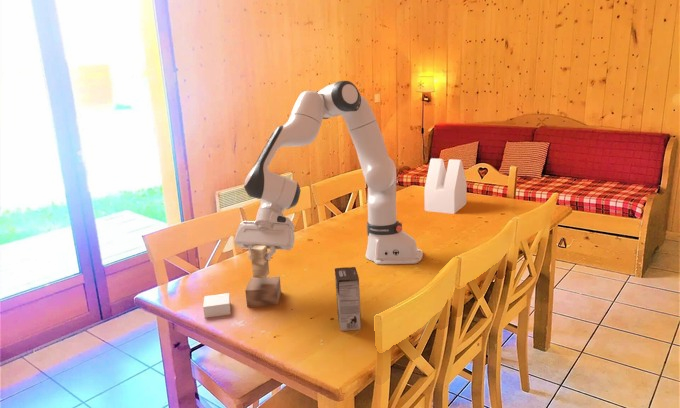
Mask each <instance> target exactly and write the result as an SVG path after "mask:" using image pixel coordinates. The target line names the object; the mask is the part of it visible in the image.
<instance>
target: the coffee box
mask: <svg viewBox="0 0 680 408" xmlns="http://www.w3.org/2000/svg"><path fill="white" fill-rule="evenodd" d="M334 276H335V291H336V308H337V320H338V324H339V329H340V331H341V332H342V331H355V330H361V329H362V322H361V320H362V318H361V314H362V313H361V293H360V292H361V291H360V290H361V289H360V277H359V274H358V271H357V268H356V266H351V267H344V266H343V267H337V268H335V267H334Z"/></svg>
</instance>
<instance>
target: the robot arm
mask: <svg viewBox="0 0 680 408" xmlns="http://www.w3.org/2000/svg"><path fill="white" fill-rule="evenodd" d="M338 116H341V117H342V118H343V120H344V121H345V124H346V128H347V130H348V133H349V136H350V138H351V140H352V143H353V146H354V148H355V151H356V155H357V158H358V162H359V165H360V169H361V172H362V175H363V178H364V181H365V183H366V185H367V201H366V203H367V222H366V233H367V247H366V252H365V258H366V259H367V260H369V261H371V262H374V263H375V264H376V265H410V264H413V265H414V264H417V263H420V262H421V260H423V258H424V257H423V256H424V252H423V250H422V249H420V248H418V246H417V243H416V240H415V238H414V237H412V236H411V235H410V234H408V232H406V231H404V230H403V222H402V221H398V220H397V165H396V163H395V162H394V160H393V159H392V158H391V157H390V156H389V154H388V151H387V150H388V149H387V146H386V144H385V139H384V137H383V134H382V131H381V129H380V126H379V124H378V121H377V118H376V115H375V113H374V111H373V109H372V108H371V105H370V103H369V102H368V100H367V99H366V97H364V96H362V95H361V93H360V91H359V89H358V87H357V86H356V85H355V84H354V83H353V82H352V81H349V80H339V81H337V82H334V83H330V84H328V85H326V86H325V87H323V88H322V89H319V90H317V91H314V90H305V91H302V92H300V94H299V95H298V97H297V100H296V101H295V103H294V104H293V107H292V109H291V112H290V115H289V117H288V120H287V121H286V123H284V124H283V125H278V126H277V127H276V128H275V129H274V131H273V132H272V133H271V135H270V137H269V138H268V140H267V142H266V144H265V146H264V148H263V149H262V151H261V153H260V155H259V156H258V158H257V159H256V162H255V164H254V165H253V167H252V168H251V169H250V171H249V172H248V174H247V175H246V177H245V179H244V184H243V188H244V190H245V192H246V194H247V195H248V197H250V198H253V199H257V200H260V205H259V207H258V210H257V212H256V216H255V220H244V221H242V222H241V223H239V224H238V227H237V230H236V234H235V235H234V239H233V242H234V244H235V246H236V247H238V248H247V249H248V252H249V255H248V259H249V260H250V261H252V259H251V248H252V247H253V246H255V245H267V250H269V251H268V254H265V257H264V260H265V261H268V262H270V261H271V258H272V257H273V255H274V254H275V253H276V251H277V250H284V251H290V250H292V249H293V248H294V244H295V238H296V237H295V233H294V231H295V225H294V222H292V220H291V219H290V217H287V216H284V211H285V210H286V211H287V210H290V209H291V208H293V207H296V205H298V203H299V199H300V196H301V188H300V185H299V183H298V182H297V181H295V180H294V179H291V178H289V177H286V176H283V175H280V174H277V173H275V172H272V171H270V169H269V166H270V164H271V162H272V161H273V158H274V157H275V155H276V153H277V151H278V150H279V149H280V148H283V147H295V148H296V147H305V146H308V145H310V144H312V143H314V141H316V139H317V137H318V136H319V132H320V129H321V126H322V122H323V120H327V119H331V118H336V117H338Z"/></svg>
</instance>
